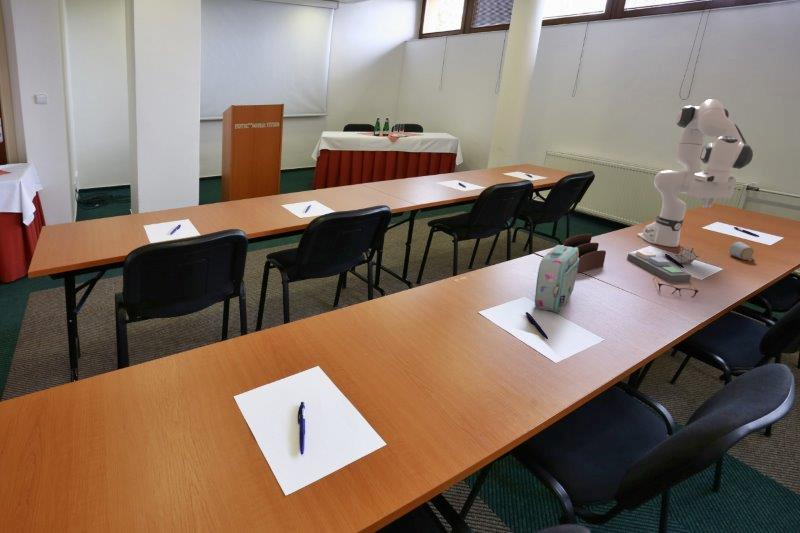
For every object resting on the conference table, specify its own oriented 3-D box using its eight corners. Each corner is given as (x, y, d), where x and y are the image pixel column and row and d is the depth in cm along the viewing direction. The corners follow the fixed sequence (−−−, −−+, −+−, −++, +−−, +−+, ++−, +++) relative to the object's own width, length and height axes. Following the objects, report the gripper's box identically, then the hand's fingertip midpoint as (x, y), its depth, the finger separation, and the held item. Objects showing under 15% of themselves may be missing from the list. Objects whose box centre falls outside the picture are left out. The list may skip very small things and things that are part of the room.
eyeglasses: (656, 292, 190) (659, 283, 188) (652, 280, 203) (654, 272, 201) (696, 300, 185) (699, 290, 184) (689, 287, 198) (692, 278, 197)
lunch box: (558, 320, 160) (571, 262, 152) (529, 312, 164) (539, 255, 156) (573, 294, 181) (585, 242, 174) (547, 287, 186) (557, 236, 178)
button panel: (626, 258, 226) (628, 253, 225) (645, 258, 229) (647, 252, 227) (669, 281, 201) (671, 275, 200) (689, 281, 203) (691, 274, 202)
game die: (683, 270, 228) (696, 253, 227) (692, 270, 219) (706, 253, 219) (668, 259, 228) (681, 242, 228) (677, 258, 220) (690, 241, 219)
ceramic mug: (739, 260, 236) (744, 246, 233) (726, 254, 243) (731, 241, 240) (757, 261, 237) (763, 247, 234) (744, 255, 245) (749, 241, 242)
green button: (660, 273, 209) (661, 267, 208) (671, 272, 210) (673, 266, 209) (669, 278, 203) (671, 272, 202) (681, 278, 205) (683, 271, 204)
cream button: (635, 256, 224) (636, 250, 223) (645, 256, 225) (647, 250, 224) (643, 261, 218) (645, 255, 217) (654, 260, 220) (656, 255, 219)
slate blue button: (647, 263, 216) (649, 257, 215) (658, 262, 217) (660, 256, 216) (656, 267, 211) (658, 261, 210) (668, 267, 212) (669, 261, 211)
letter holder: (558, 266, 211) (564, 236, 205) (584, 259, 221) (591, 231, 216) (576, 274, 203) (583, 243, 198) (603, 267, 214) (610, 237, 209)
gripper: (730, 175, 202) (720, 205, 208) (690, 174, 198) (681, 205, 203) (742, 178, 196) (731, 209, 202) (702, 177, 192) (692, 210, 198)
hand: (706, 207), depth 203 cm, fingers closed
